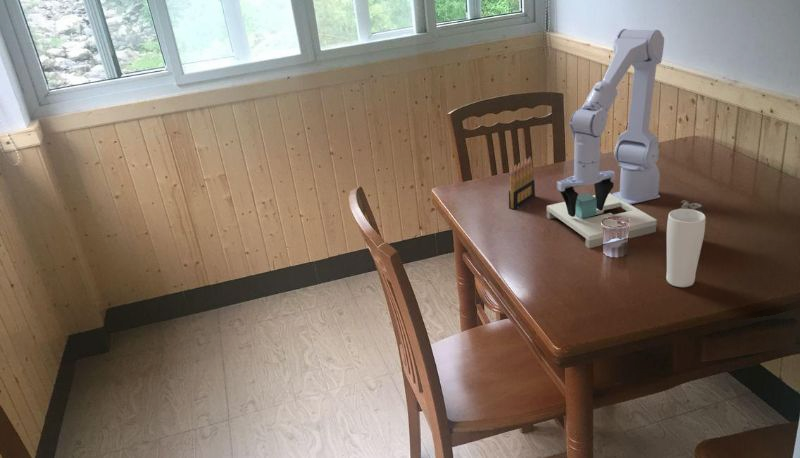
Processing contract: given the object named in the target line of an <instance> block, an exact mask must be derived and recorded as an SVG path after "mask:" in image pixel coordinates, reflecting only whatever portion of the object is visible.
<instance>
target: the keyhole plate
mask: <svg viewBox="0 0 800 458" xmlns="http://www.w3.org/2000/svg"><path fill="white" fill-rule="evenodd" d="M592 196H593V197H595V194H594V195H592ZM616 208H622V209H623V210H625V212H620V213H619V212H618V213H614V214H613V213H611V212H608V213H604V211H607V210H612V209H616ZM596 215H597V216H596ZM596 215H594V216H590V217H589V218H586V219H583V218H580V217H579V216H577V215H576V214H575V216H574V217H572V216H570V215H569V214H568V211H567V207H566V203H565V201H562V202H558V203H553V204H549V205H546V218H548V220H551V219H552V220H553V219H558V220H560V221H561V222H563V223H564V224H565V225H567V226H568V227H570V228H571V229H572V230H574V231H575V232H577V233H578V234H579V235H580V236H582V237H583V238H585V242H584V243H585V247H587V248H588V249H592V248H596V247H600V246H603V245H602V244H603V229H602V226H601V222H602V220H603V219H604V218H608V217H612V216H622V217H626V218H629V219H630V228H629V239H632V238H637V237H641V236H645V235H649V234H653V233H656V232H657V223H658V222H657V221H658V220H657V219H656V218H655V217H653V216H651V215H649V214H647V213H645V212H644V211H642V210H640V209H639V208H637V207H635V206H633V205H632V204H628V203H626V202H624V201H623V200H621V199H619V198H617V197H616V196H614V195H613V193H609V194H608V196H607V198H606V201H605V204H604V207H603V210H599V209H597V208H596ZM603 223H604V224H605V225H607V226H611V227H617V226H622V225H620V224H618V223H617V222H616V220H613V219H607V220H604V222H603Z"/></svg>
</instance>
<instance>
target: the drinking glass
mask: <svg viewBox="0 0 800 458" xmlns="http://www.w3.org/2000/svg"><path fill="white" fill-rule="evenodd" d="M706 219H707V217H706V215H705V214H704V213H703V212H699V211H696V210H692V209H679V208H677V209H673V210H671V211H670V212H669V213H668V217H667V223H666V236H665V237H666V272H665V273H666V275H665V278H666V281H667V283H668V284H670V285H671V286H674V287H677V288H688V287H691V286H693V285H694V284H695V281H696V280H695V279H696V273H697V268H698V263H699V259H700V257H701V256H700V255H701V252H702V251H701V250H702V246H703V241H704V236H705V230H706Z"/></svg>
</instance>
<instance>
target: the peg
mask: <svg viewBox="0 0 800 458" xmlns="http://www.w3.org/2000/svg"><path fill="white" fill-rule="evenodd" d="M596 207H597V198H595V197H593V195H591V194H590V193H589V192H585V193H581V194H578V197H577V200H576V213H575V214H576V215H577V216H579V217H580V218H583V219H586V218H591V217H595V216H596Z"/></svg>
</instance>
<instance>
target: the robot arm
mask: <svg viewBox="0 0 800 458" xmlns="http://www.w3.org/2000/svg"><path fill="white" fill-rule="evenodd" d="M664 48H665V37H664V35H663V33H662V32H661V31H660V30H659V29H654V30H652V29H649V30H648V29H647V30H645V29H627V28H621V29H620V30H619V31H618V32H617V34H616V35H615V39H614V41H613V56H612V58H611V61H610V62H609V65H608V67H607V69H606V72H605V74H604V77H603V78H602V81H597V82H596V83H595V84H594V85H593V87H592V89H591V90H590V92H589V94H588V95H587V97H586V100H585V101H584V103H583V104H582V106H581V108H578V109H577V110H575V111H574V112H573V113H572V114H571V117H570V122H569V123H568V124H569V130H570V132H571V135H572V136H571V138H572V139H571V140H572V141H574V147H573V149H574V155H573V157H574V158H573V161H574V162H573V175H571V176H569V177H566V178H565V179H562V180H558V181H556V189H557V190H558V191H559V193H560V195H561V196H562V198H563V200H564V201H563V202H565V203H566V207H567V211H568V214H569V215H570V216H572V217H574V216H575V213H576V200H577V197H578V195H579V193H578V192H576V190H575V189H574V188H578V187H579V188H580V187H585V186H589V185H593V186H594V191H595V192H594V193H595V194H594V195H595V198H597V207H596V208H597V209H599V210H603V207H604V204H605V201H606V198H607V196H608V194H609V193H610V192H611V191H612V189H613V188H614V184H615V183H614V182H612V181H615V180H616V172H615V171H613V170H602V171H600V157H601V156H600V155H601V154H600V152H601V135H602V134H603V132H605V129H606V126H607V121H608V118H609V114H608V112H609V111H610V109H611V107H612V106H613V104H614V102H615V100H616V99H617V96H618V90H617V87H618V85H619V84H620V82H622V79H623V78H624V76H625V75H626V74H627V73H628V70H629V69H630V67H631V66H632V67H633V79H632V88H631V96H630V104H629V112H628V122H627V130H625V131H623V132H622V133H620V134H619V135H618V136H617V141H616V145H615V146H614V150H613V156H614V159H615V162H617V163H618V164H617V165H618V166H619V167H620V176H619V178H620V179H619V191H617V192H616V191H615V192H613V193H612V195H614V196H616V197H617V198H619V199H621V200H623V201H624V202H626V203H628V204H630V205H633V204H639V203H642V202H646V201H651V200H655V199H660V198H661V195H659V191H660V190H659V189H660V178H661V177H660V176H661V175H660V170H659V167H658V166H657V162H658V159H659V155H660V150H659V137H658V136H656V135H655V134H654V133H653V132H652V131H650V121H651V120H650V119H651V114H652V113H651V112H652V106H653V105H652V104H653V95H654V89H655V79H656V71H657V65H659V64H661V63H662V60H663V54H664ZM610 194H611V193H610Z"/></svg>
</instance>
